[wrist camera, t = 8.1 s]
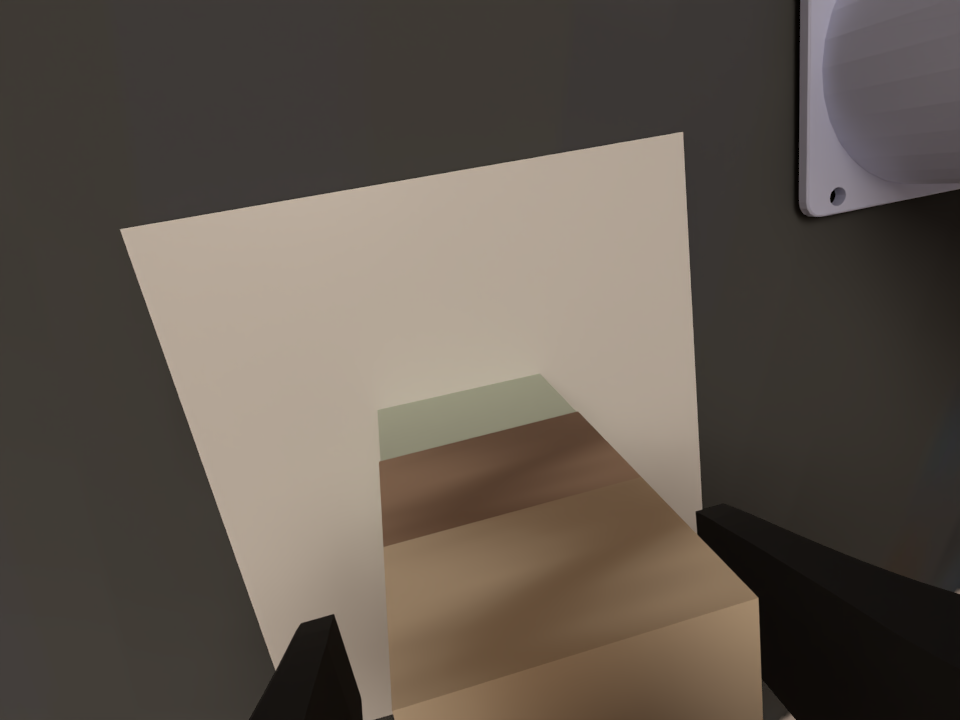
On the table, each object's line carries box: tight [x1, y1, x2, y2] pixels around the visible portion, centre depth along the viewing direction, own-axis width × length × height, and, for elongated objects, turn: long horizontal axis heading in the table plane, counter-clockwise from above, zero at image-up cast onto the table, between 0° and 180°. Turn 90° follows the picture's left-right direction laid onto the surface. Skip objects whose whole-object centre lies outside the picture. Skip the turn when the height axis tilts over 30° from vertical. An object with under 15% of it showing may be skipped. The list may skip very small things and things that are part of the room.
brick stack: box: [379, 411, 763, 720], centre depth 11 cm, size 5×5×6 cm
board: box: [120, 132, 702, 720], centre depth 16 cm, size 14×16×4 cm
